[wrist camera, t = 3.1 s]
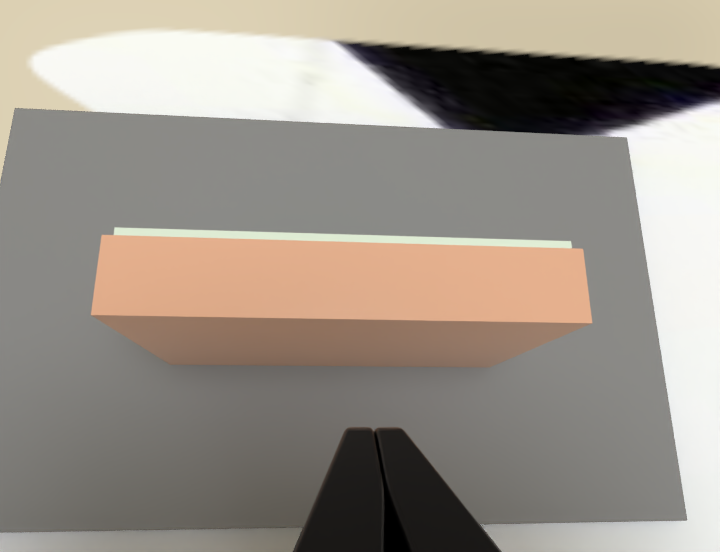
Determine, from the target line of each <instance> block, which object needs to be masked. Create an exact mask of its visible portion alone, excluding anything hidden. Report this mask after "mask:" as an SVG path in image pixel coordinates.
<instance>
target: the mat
mask: <svg viewBox="0 0 720 552" xmlns="http://www.w3.org/2000/svg"><path fill="white" fill-rule="evenodd" d="M115 227H119V228H152V229H185V230H218V231H251V232H284V233H317V234H351V235H384V236H417V237H450V238H483V239H516V240H549V241H571V245H572V248H575V249H583V252H584V260H585V268H586V276H587V284H588V292H589V300H590V308H591V316H592V324H589V325H587V326H585V327H582V328H580V329H578V330H576V331H573V332H571V333H569V334H566V335H564V336H562V337H559V338H557V339H555V340H552V341H550V342H548V343H545V344H543V345H541V346H538V347H536V348H534V349H531V350H529V351H527V352H524V353H522V354H520V355H517V356H515V357H513V358H510V359H508V360H506V361H503V362H501V363H499V364H496V365H494V366H492V367H377V366H261V365H170V364H168V363H167V362H165V361H164V360H162V359H160V358H159V357H157V356H156V355H154V354H152V353H151V352H149V351H148V350H146V349H144V348H143V347H141V346H140V345H138V344H136V343H135V342H133V341H132V340H130V339H128V338H127V337H125V336H124V335H122V334H120V333H119V332H117V331H116V330H114V329H112V328H111V327H109V326H108V325H106V324H104V323H103V322H101V321H100V320H98V319H96V318H95V317H93V316H92V315H91V310H92V303H93V295H94V288H95V280H96V273H97V266H98V258H99V251H100V243H101V236H102V235H114V228H115ZM348 427H370V428H372V429H373V431H374V430H375V429H376V428H378V427H400V428H402V429H403V430H404V431H405V432H406V433H407V434H408V436H409V437H410V438H411V439H412V441H413V442H414V443H415V444H416V446H417V447H418V448H419V449H420V451H421V452H422V453H423V454H424V456H425V457H426V458H427V459H428V461H429V462H430V463H431V464H432V466H433V467H434V468H435V469H436V471H437V472H438V473H439V474H440V476H441V477H442V478H443V479H444V481H445V482H446V483H447V484H448V486H449V487H450V488H451V489H452V491H453V492H454V493H455V494H456V495H457V497H458V498H459V499H460V500H461V502H462V503H463V504H464V505H465V507H466V508H467V509H468V510H469V512H470V513H471V514H472V515H473V517H474V518H475V519H476V520H477V522H478V523H479V524H514V523H571V522H628V521H685V520H687V516H686V509H685V503H684V497H683V490H682V484H681V478H680V471H679V465H678V459H677V452H676V446H675V440H674V433H673V427H672V421H671V414H670V408H669V402H668V395H667V389H666V383H665V376H664V370H663V364H662V357H661V351H660V345H659V338H658V332H657V326H656V319H655V313H654V307H653V300H652V294H651V288H650V281H649V275H648V269H647V262H646V256H645V250H644V243H643V237H642V230H641V224H640V218H639V211H638V205H637V199H636V192H635V186H634V180H633V173H632V167H631V161H630V154H629V148H628V142H627V138H624V137H604V136H583V135H562V134H541V133H521V132H500V131H479V130H458V129H438V128H417V127H396V126H375V125H355V124H334V123H313V122H292V121H272V120H251V119H230V118H209V117H189V116H168V115H147V114H126V113H106V112H85V111H64V110H44V109H43V110H42V109H23V108H15V110H14V115H13V121H12V126H11V131H10V136H9V141H8V146H7V151H6V156H5V161H4V166H3V172H2V177H1V182H0V533H1V532H58V531H115V530H172V529H229V528H286V527H304V525H305V522H306V520H307V518H308V515H309V513H310V511H311V508H312V506H313V503H314V501H315V499H316V496H317V494H318V492H319V489H320V487H321V485H322V482H323V480H324V478H325V475H326V473H327V471H328V468H329V466H330V463H331V461H332V459H333V456H334V454H335V452H336V449H337V447H338V445H339V442H340V440H341V438H342V435H343V433H344V431H345V430H346V429H347V428H348Z"/></svg>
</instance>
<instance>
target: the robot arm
mask: <svg viewBox="0 0 720 552" xmlns="http://www.w3.org/2000/svg"><path fill="white" fill-rule="evenodd" d="M293 552H501V550H500V549H499V548H498V547H497V545H496V544H495V543H494V542H493V540H492V539H491V538H490V537H489V535H488V534H487V533H486V532H485V530H484V529H483V528H482V527H481V525H480V524H479V523H478V522H477V520H476V519H475V518H474V517H473V515H472V514H471V513H470V512H469V510H468V509H467V508H466V507H465V505H464V504H463V503H462V502H461V500H460V499H459V498H458V497H457V495H456V494H455V493H454V492H453V491H452V489H451V488H450V487H449V486H448V484H447V483H446V482H445V481H444V479H443V478H442V477H441V476H440V474H439V473H438V472H437V471H436V469H435V468H434V467H433V466H432V464H431V463H430V462H429V461H428V459H427V458H426V457H425V456H424V454H423V453H422V452H421V451H420V449H419V448H418V447H417V446H416V444H415V443H414V442H413V441H412V439H411V438H410V437H409V436H408V434H407V433H406V432H405V431H404V430H403V429H402V428H400V427H378V428H376V429H375V430H374V431H373V429H372V428H370V427H348V428H347V429H346V430H345V431H344V433H343V435H342V438H341V440H340V442H339V445H338V447H337V449H336V452H335V454H334V456H333V459H332V461H331V463H330V466H329V468H328V471H327V473H326V475H325V478H324V480H323V482H322V485H321V487H320V489H319V492H318V494H317V496H316V499H315V501H314V503H313V506H312V508H311V511H310V513H309V515H308V518H307V520H306V522H305V525H304V527H303V529H302V532H301V534H300V536H299V539H298V541H297V543H296V546H295V548H294V550H293Z"/></svg>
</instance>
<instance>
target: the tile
mask: <svg viewBox="0 0 720 552" xmlns="http://www.w3.org/2000/svg"><path fill="white" fill-rule="evenodd" d="M91 315H92V316H93V317H95V318H96V319H98V320H100V321H101V322H103V323H104V324H106V325H108V326H109V327H111V328H112V329H114V330H116V331H117V332H119V333H120V334H122V335H124V336H125V337H127V338H128V339H130V340H132V341H133V342H135V343H136V344H138V345H140V346H141V347H143V348H144V349H146V350H148V351H149V352H151V353H152V354H154V355H156V356H157V357H159V358H160V359H162V360H164V361H165V362H167V363H168V364H170V365H261V366H377V367H492V366H494V365H496V364H499V363H501V362H503V361H506V360H508V359H510V358H513V357H515V356H517V355H520V354H522V353H524V352H527V351H529V350H531V349H534V348H536V347H538V346H541V345H543V344H545V343H548V342H550V341H552V340H555V339H557V338H559V337H562V336H564V335H566V334H569V333H571V332H573V331H576V330H578V329H580V328H582V327H585V326H587V325H589V324H592V316H591V308H590V300H589V292H588V284H587V276H586V268H585V260H584V252H583V249H575V248H572V245H571V241H549V240H516V239H483V238H450V237H417V236H384V235H351V234H317V233H284V232H251V231H218V230H185V229H152V228H119V227H115V228H114V235H102V236H101V243H100V251H99V258H98V266H97V273H96V280H95V288H94V295H93V303H92V310H91Z"/></svg>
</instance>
